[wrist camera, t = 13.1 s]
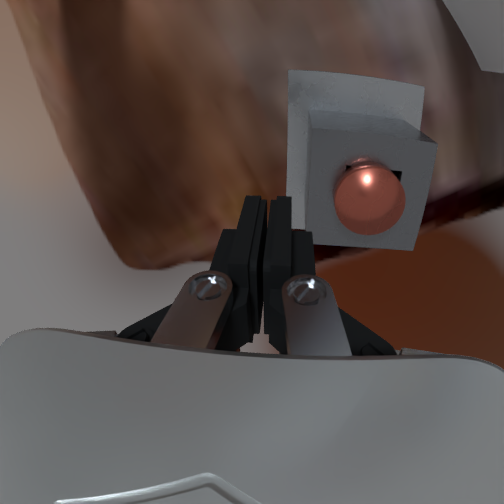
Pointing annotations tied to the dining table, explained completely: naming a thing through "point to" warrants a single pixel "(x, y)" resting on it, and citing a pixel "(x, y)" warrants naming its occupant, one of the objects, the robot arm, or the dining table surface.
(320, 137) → the receiver
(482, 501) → the robot arm
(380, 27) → the dining table surface
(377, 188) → the pin
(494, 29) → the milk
